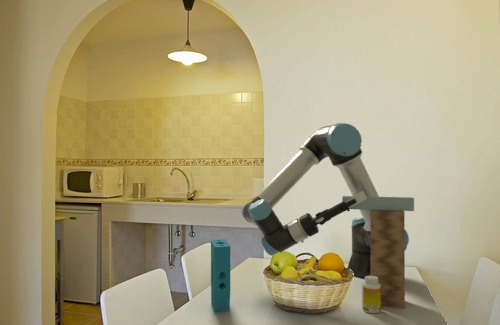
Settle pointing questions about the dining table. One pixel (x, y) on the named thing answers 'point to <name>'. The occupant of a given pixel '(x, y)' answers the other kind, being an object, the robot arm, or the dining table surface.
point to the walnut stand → (389, 255)
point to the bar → (384, 203)
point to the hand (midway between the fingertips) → (364, 194)
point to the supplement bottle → (371, 295)
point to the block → (220, 275)
